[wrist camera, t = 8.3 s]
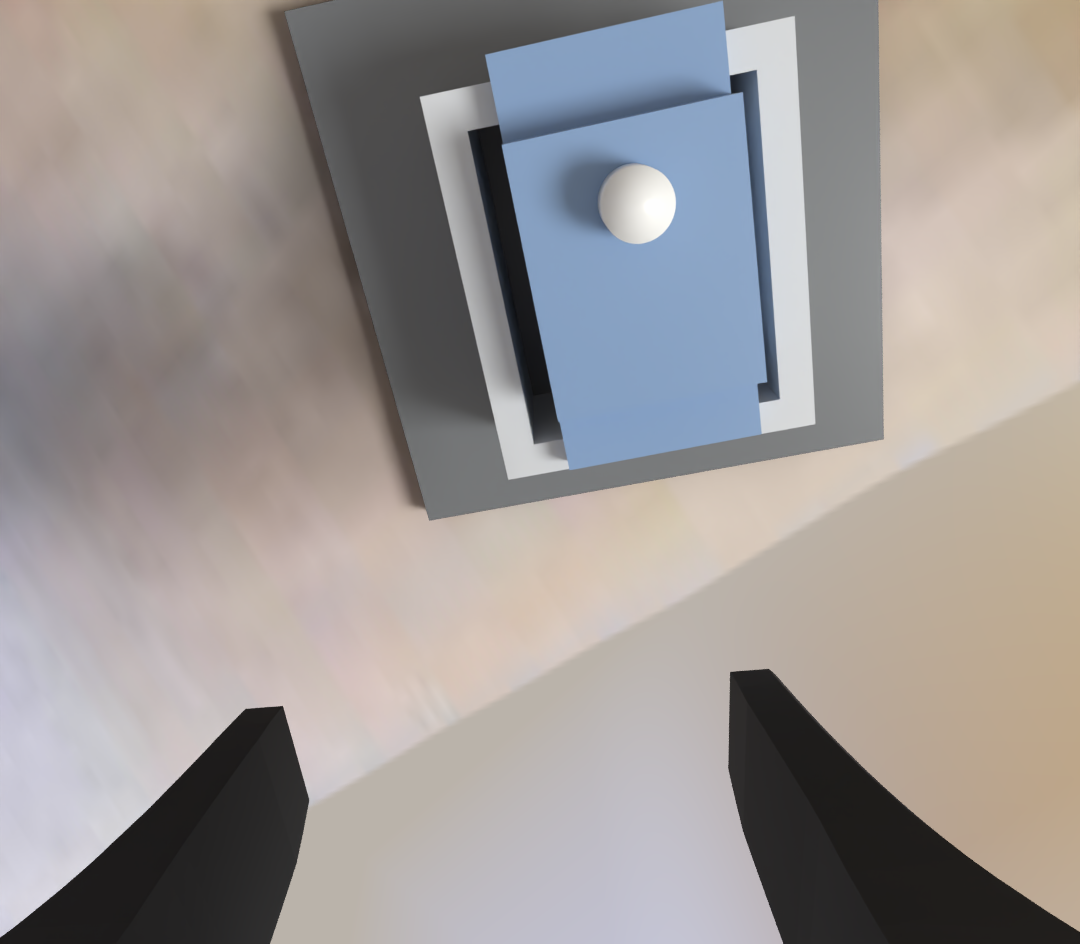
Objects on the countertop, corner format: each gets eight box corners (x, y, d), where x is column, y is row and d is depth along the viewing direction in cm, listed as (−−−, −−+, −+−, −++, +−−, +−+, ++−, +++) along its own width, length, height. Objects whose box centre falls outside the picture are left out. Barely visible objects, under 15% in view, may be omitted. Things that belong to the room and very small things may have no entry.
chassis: (431, 510, 21) (412, 586, 18) (292, 15, 17) (229, -12, 13) (874, 430, 21) (944, 493, 17) (864, -115, 16) (958, -180, 12)
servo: (562, 409, 20) (573, 505, 15) (493, 67, 16) (479, 47, 12) (721, 379, 19) (784, 466, 15) (682, 25, 16) (747, -15, 11)
